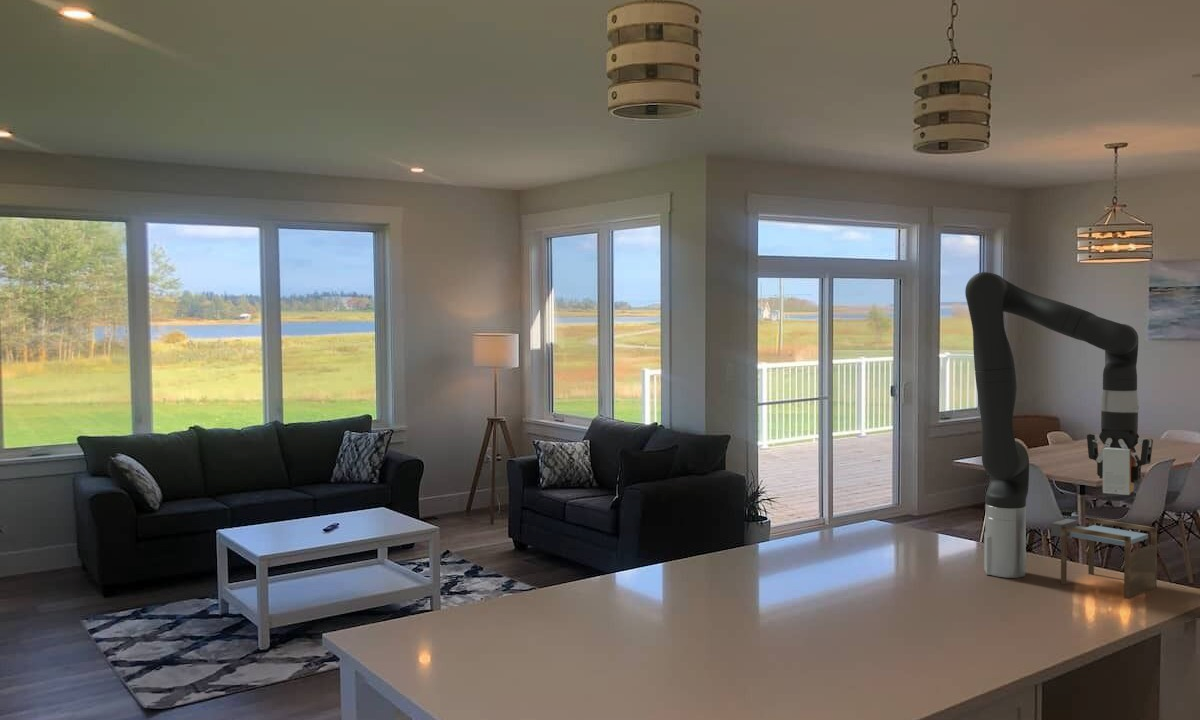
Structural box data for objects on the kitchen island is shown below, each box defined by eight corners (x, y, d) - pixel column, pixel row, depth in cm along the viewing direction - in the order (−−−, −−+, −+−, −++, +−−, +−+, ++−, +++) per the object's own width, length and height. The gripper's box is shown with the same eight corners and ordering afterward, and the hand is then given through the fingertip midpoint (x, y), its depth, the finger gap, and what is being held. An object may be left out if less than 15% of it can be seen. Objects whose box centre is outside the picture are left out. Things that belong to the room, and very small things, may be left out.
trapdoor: (1046, 536, 224) (1046, 524, 223) (1070, 529, 231) (1071, 517, 231) (1125, 550, 209) (1125, 537, 209) (1148, 542, 216) (1148, 529, 216)
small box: (1129, 496, 211) (1130, 450, 210) (1102, 493, 214) (1102, 448, 213) (1134, 490, 217) (1135, 446, 216) (1107, 488, 220) (1108, 444, 220)
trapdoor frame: (1060, 584, 220) (1061, 526, 219) (1090, 573, 229) (1090, 517, 228) (1128, 598, 208) (1128, 537, 207) (1156, 586, 217) (1157, 527, 216)
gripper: (1080, 408, 218) (1079, 478, 219) (1145, 412, 207) (1144, 486, 207) (1095, 406, 223) (1094, 474, 223) (1159, 410, 211) (1158, 482, 212)
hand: (1118, 480), depth 215 cm, fingers closed on small box, 6 cm apart
